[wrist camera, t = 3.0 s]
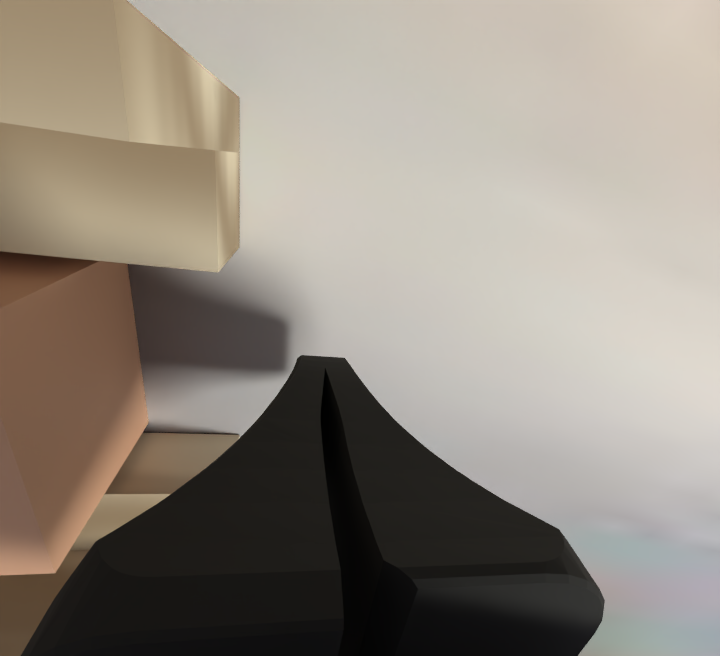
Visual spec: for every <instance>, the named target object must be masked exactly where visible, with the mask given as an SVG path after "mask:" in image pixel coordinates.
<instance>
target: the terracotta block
mask: <svg viewBox="0 0 720 656" xmlns="http://www.w3.org/2000/svg"><path fill="white" fill-rule="evenodd" d="M148 423H149V422H148V414H147V407H146V399H145V392H144V384H143V377H142V369H141V362H140V354H139V347H138V339H137V332H136V324H135V317H134V309H133V302H132V295H131V287H130V280H129V272H128V265H127V264H126V263H116V262H105V261H95V260H85V259H75V258H64V257H54V256H44V255H33V254H23V253H13V252H3V251H0V575H25V574H51V573H56V571H57V570H58V568H59V567H60V565H61V563H62V562H63V560H64V558H65V557H66V555H67V554H68V552H69V550H70V549H71V547H72V546H73V544H74V542H75V541H76V539H77V537H78V536H79V534H80V533H81V531H82V529H83V528H84V526H85V525H86V523H87V521H88V520H89V518H90V517H91V515H92V513H93V512H94V510H95V508H96V507H97V505H98V504H99V502H100V500H101V499H102V497H103V496H104V494H105V492H106V491H107V489H108V487H109V486H110V484H111V483H112V481H113V479H114V478H115V476H116V475H117V473H118V471H119V470H120V468H121V467H122V465H123V463H124V462H125V460H126V458H127V457H128V455H129V454H130V452H131V450H132V449H133V447H134V446H135V444H136V442H137V441H138V439H139V437H140V436H141V434H142V433H143V431H144V429H145V428H146V426H147V425H148Z"/></svg>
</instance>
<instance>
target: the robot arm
mask: <svg viewBox="0 0 720 656" xmlns="http://www.w3.org/2000/svg"><path fill="white" fill-rule="evenodd" d="M604 601H605V600H604V598H603V596H602V594H601V591H600V589H599V588H598V586H597V585H596V583H595V582H594V580H593V579H592V577H591V576H590V574H589V573H588V571H587V570H586V568H585V567H584V565H583V564H582V562H581V561H580V559H579V558H578V556H577V555H576V553H575V552H574V550H573V549H572V547H571V546H570V544H569V543H568V541H567V540H566V538H565V537H564V536H563V534H562V533H561V532H560V530H559V529H557V528H555V527H553V526H552V525H550V524H548V523H546V522H544V521H542V520H540V519H538V518H537V517H535V516H533V515H531V514H529V513H527V512H525V511H523V510H521V509H520V508H518V507H516V506H514V505H512V504H510V503H508V502H506V501H505V500H503V499H501V498H499V497H498V496H496V495H494V494H493V493H491V492H490V491H488V490H486V489H485V488H483V487H481V486H480V485H478V484H476V483H475V482H473V481H472V480H470V479H469V478H467V477H466V476H464V475H463V474H461V473H460V472H458V471H457V470H455V469H454V468H452V467H451V466H450V465H448V464H447V463H446V462H444V461H443V460H442V459H440V458H439V457H437V456H436V455H435V454H433V453H432V452H431V451H430V450H428V449H427V448H426V447H424V446H423V445H422V444H421V443H420V442H419V441H417V440H416V439H415V438H414V437H413V436H412V435H411V434H409V433H408V432H407V431H406V430H405V429H404V428H403V427H402V426H401V425H399V424H398V423H397V422H396V421H395V420H394V419H393V418H392V417H391V415H390V414H389V413H388V412H387V411H386V410H385V409H384V408H383V407H382V406H381V405H380V404H379V402H378V401H377V400H376V399H375V398H374V396H373V395H372V394H371V393H370V391H369V390H368V389H367V388H366V386H365V385H364V384H363V383H362V381H361V380H360V378H359V377H358V376H357V374H356V373H355V372H354V370H353V369H352V367H351V366H350V364H349V363H348V362H347V360H346V359H345V358H337V357H321V356H305V355H301V356H300V357H299V358H297V362H296V364H295V367H294V369H293V371H292V373H291V374H290V376H289V378H288V380H287V381H286V383H285V384H284V386H283V387H282V389H281V390H280V392H279V393H278V395H277V396H276V397H275V399H274V400H273V401H272V402H271V404H270V405H269V406H268V407H267V409H266V410H265V411H264V413H263V414H262V415H261V416H260V417H259V418H258V419H257V421H256V422H255V423H254V424H253V425H252V426H251V427H250V428H249V429H248V430H247V431H246V432H245V433H244V434H243V435H242V436H241V437H240V438H239V439H238V440H237V441H236V442H235V443H234V444H233V445H232V446H231V447H230V448H228V449H227V450H226V451H225V452H224V453H223V454H222V455H221V456H220V457H218V458H217V459H216V460H215V461H214V462H212V463H211V464H210V465H209V466H208V467H206V468H205V469H204V470H203V471H201V472H200V473H199V474H197V475H196V476H195V477H193V478H192V479H191V480H189V481H188V482H186V483H185V484H184V485H182V486H181V487H180V488H178V489H177V490H176V491H174V492H173V493H172V494H170V495H169V496H168V497H166V498H165V499H163V500H162V501H160V502H159V503H157V504H156V505H154V506H153V507H151V508H150V509H148V510H146V511H145V512H143V513H141V514H140V515H138V516H137V517H135V518H133V519H132V520H130V521H129V522H127V523H125V524H124V525H122V526H120V527H119V528H117V529H116V530H114V531H112V532H111V533H109V534H107V535H106V536H104V537H102V538H100V539H99V540H97V541H96V542H95V543H94V544H93V546H92V547H91V548H90V550H89V551H88V552H87V554H86V555H85V557H84V558H83V559H82V561H81V562H80V563H79V565H78V566H77V568H76V569H75V570H74V572H73V573H72V574H71V576H70V577H69V579H68V580H67V581H66V583H65V584H64V586H63V587H62V588H61V590H60V591H59V593H58V594H57V595H56V597H55V598H54V600H53V602H52V603H51V605H50V607H49V608H48V610H47V612H46V613H45V615H44V617H43V618H42V620H41V622H40V623H39V625H38V627H37V629H36V630H35V632H34V634H33V635H32V637H31V639H30V640H29V642H28V644H27V646H26V647H25V649H24V651H23V652H22V654H21V656H578V654H579V653H580V652H581V650H582V649H583V648H584V647H585V645H586V644H587V643H588V641H589V640H590V639H591V637H592V636H593V635H594V633H595V632H596V630H597V628H598V626H599V625H600V623H601V621H602V617H603V610H604Z"/></svg>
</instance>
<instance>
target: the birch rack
mask: <svg viewBox="0 0 720 656" xmlns="http://www.w3.org/2000/svg"><path fill="white" fill-rule="evenodd" d="M238 248H239V97H238V96H237V95H236V94H235V93H234V92H232V91H231V90H230V89H229V88H228V87H227V86H225V85H224V84H223V83H222V82H221V81H220V80H219V79H217V78H216V77H215V76H214V75H213V74H212V73H210V72H209V71H208V70H207V69H206V68H205V67H203V66H202V65H201V64H200V63H199V62H198V61H196V60H195V59H194V58H193V57H192V56H191V55H190V54H188V53H187V52H186V51H185V50H184V49H183V48H181V47H180V46H179V45H178V44H177V43H176V42H174V41H173V40H172V39H171V38H170V37H169V36H167V35H166V34H165V33H164V32H163V31H162V30H161V29H159V28H158V27H157V26H156V25H155V24H154V23H152V22H151V21H150V20H149V19H148V18H147V17H145V16H144V15H143V14H142V13H141V12H140V11H138V10H137V9H136V8H135V7H134V6H133V5H132V4H130V3H129V2H128V1H127V0H0V251H3V252H13V253H23V254H33V255H44V256H54V257H64V258H75V259H85V260H95V261H105V262H116V263H126V264H136V265H147V266H157V267H167V268H178V269H188V270H198V271H208V272H219V271H220V270H221V269H222V267H223V266H224V265H225V264H226V263H227V261H228V260H229V259H230V258H231V257H232V255H233V254H234V253H235V252H236V251H237V249H238ZM238 439H239V435H221V434H177V433H142V434H141V436H140V437H139V439H138V441H137V442H136V444H135V446H134V447H133V449H132V450H131V452H130V454H129V455H128V457H127V458H126V460H125V462H124V463H123V465H122V467H121V468H120V470H119V471H118V473H117V475H116V476H115V478H114V479H113V481H112V483H111V484H110V486H109V487H108V489H107V491H106V492H105V494H104V496H103V497H102V499H101V500H100V502H99V504H98V505H97V507H96V508H95V510H94V512H93V513H92V515H91V517H90V518H89V520H88V521H87V523H86V525H85V526H84V528H83V529H82V531H81V533H80V534H79V536H78V537H77V539H76V541H75V542H74V544H73V546H72V547H71V549H70V550H69V552H68V554H67V555H66V557H65V558H64V560H63V562H62V563H61V565H60V567H59V568H58V570H57V571H56V573H51V574H25V575H0V656H21V654H22V652H23V651H24V649H25V647H26V646H27V644H28V642H29V640H30V639H31V637H32V635H33V634H34V632H35V630H36V629H37V627H38V625H39V623H40V622H41V620H42V618H43V617H44V615H45V613H46V612H47V610H48V608H49V607H50V605H51V603H52V602H53V600H54V598H55V597H56V595H57V594H58V593H59V591H60V590H61V588H62V587H63V586H64V584H65V583H66V581H67V580H68V579H69V577H70V576H71V574H72V573H73V572H74V570H75V569H76V568H77V566H78V565H79V563H80V562H81V561H82V559H83V558H84V557H85V555H86V554H87V552H88V551H89V550H90V548H91V547H92V546H93V544H94V543H95V542H96V541H97V540H99V539H100V538H102V537H104V536H106V535H107V534H109V533H111V532H112V531H114V530H116V529H117V528H119V527H120V526H122V525H124V524H125V523H127V522H129V521H130V520H132V519H133V518H135V517H137V516H138V515H140V514H141V513H143V512H145V511H146V510H148V509H150V508H151V507H153V506H154V505H156V504H157V503H159V502H160V501H162V500H163V499H165V498H166V497H168V496H169V495H170V494H172V493H173V492H174V491H176V490H177V489H178V488H180V487H181V486H182V485H184V484H185V483H186V482H188V481H189V480H191V479H192V478H193V477H195V476H196V475H197V474H199V473H200V472H201V471H203V470H204V469H205V468H206V467H208V466H209V465H210V464H211V463H212V462H214V461H215V460H216V459H217V458H218V457H220V456H221V455H222V454H223V453H224V452H225V451H226V450H227V449H228V448H230V447H231V446H232V445H233V444H234V443H235V442H236V441H237V440H238Z"/></svg>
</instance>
